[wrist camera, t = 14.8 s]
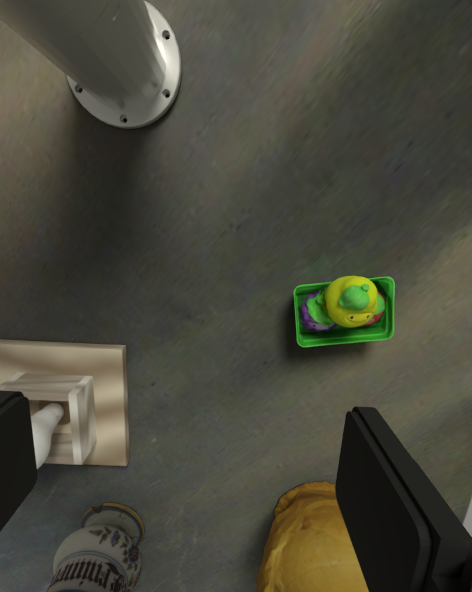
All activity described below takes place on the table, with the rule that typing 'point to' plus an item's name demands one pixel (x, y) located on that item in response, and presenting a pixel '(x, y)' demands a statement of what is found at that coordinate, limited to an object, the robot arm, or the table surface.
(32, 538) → the table surface
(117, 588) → the apothecary jar
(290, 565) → the pitcher
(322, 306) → the fruit basket
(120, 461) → the socket
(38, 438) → the lightbulb
